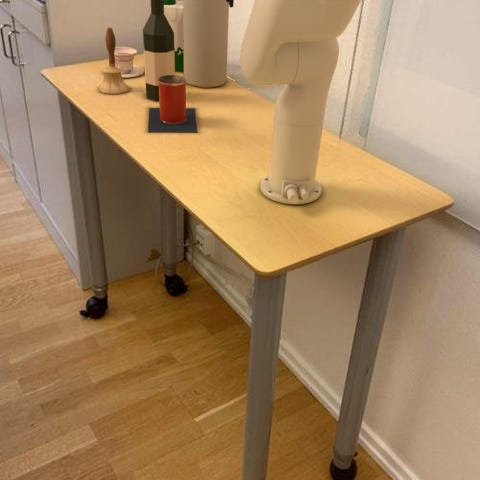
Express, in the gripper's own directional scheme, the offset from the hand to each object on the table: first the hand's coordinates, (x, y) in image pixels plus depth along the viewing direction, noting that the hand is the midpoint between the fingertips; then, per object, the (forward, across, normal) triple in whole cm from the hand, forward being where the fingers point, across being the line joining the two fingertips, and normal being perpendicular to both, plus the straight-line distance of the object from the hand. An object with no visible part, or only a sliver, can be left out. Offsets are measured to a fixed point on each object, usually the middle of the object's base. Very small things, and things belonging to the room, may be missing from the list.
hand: (253, 6), depth 126 cm
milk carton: (+28, -16, +50) cm, 60 cm away
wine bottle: (+28, -21, +25) cm, 43 cm away
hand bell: (+28, -34, +30) cm, 53 cm away
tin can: (+28, -18, +8) cm, 34 cm away
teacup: (+28, -32, +45) cm, 62 cm away
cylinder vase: (+28, -8, +38) cm, 48 cm away
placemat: (+28, -18, +8) cm, 34 cm away
